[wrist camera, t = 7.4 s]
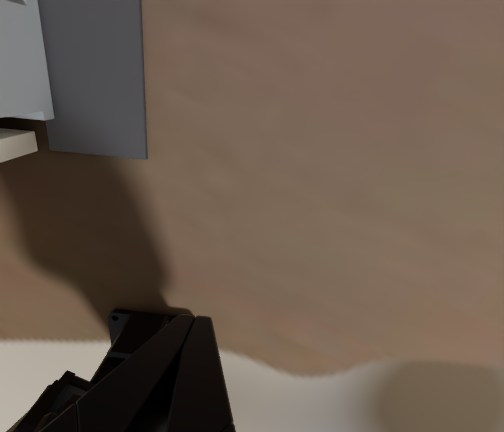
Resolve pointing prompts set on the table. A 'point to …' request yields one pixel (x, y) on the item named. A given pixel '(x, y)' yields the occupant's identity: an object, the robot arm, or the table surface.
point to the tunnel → (90, 80)
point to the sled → (23, 62)
